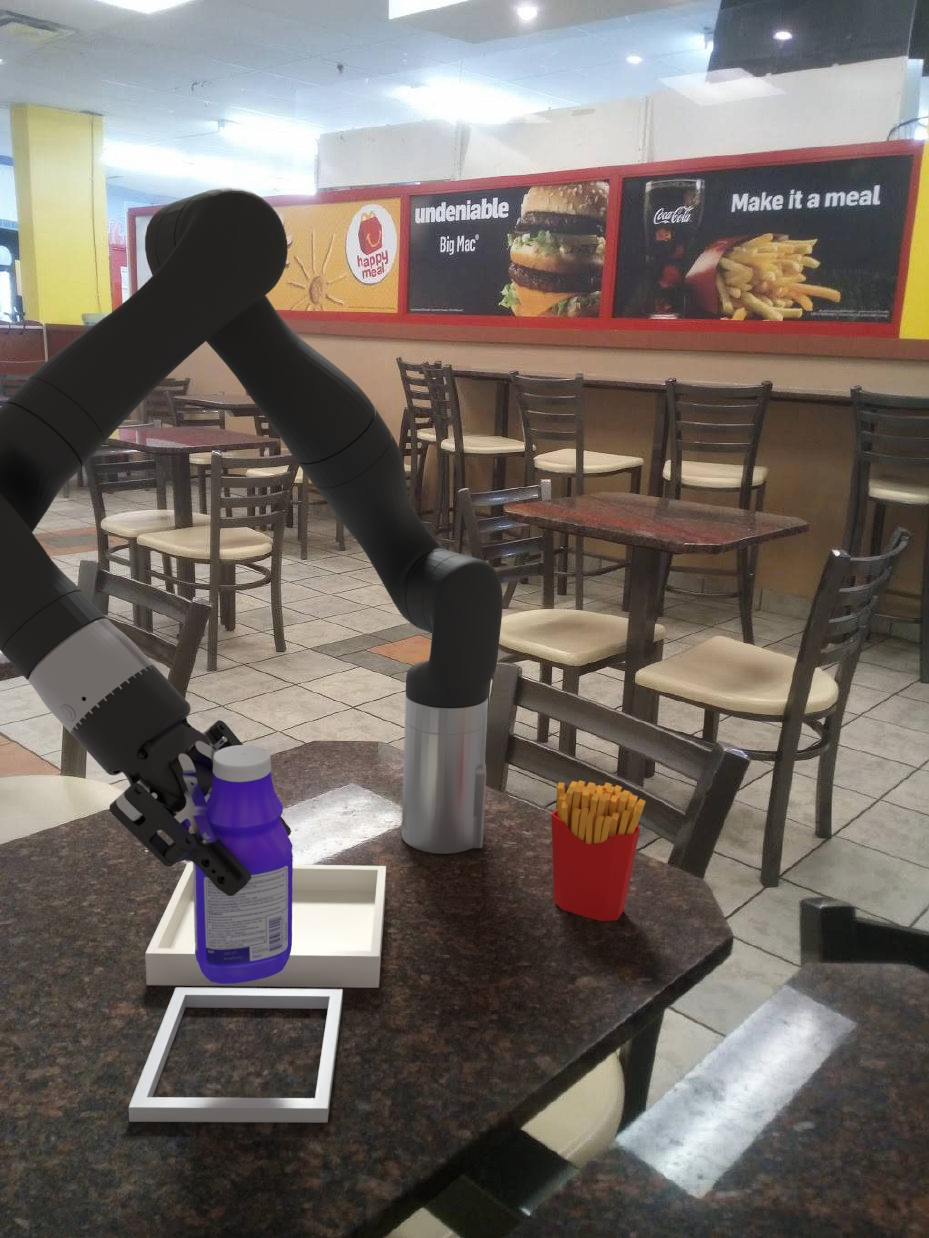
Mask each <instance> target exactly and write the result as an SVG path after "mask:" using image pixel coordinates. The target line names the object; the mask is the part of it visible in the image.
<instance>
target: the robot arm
mask: <svg viewBox="0 0 929 1238" xmlns="http://www.w3.org/2000/svg"><path fill="white" fill-rule="evenodd" d="M286 233H287V232H286V229H285V227H284V224H283V223H282V219H281V217H280V216H279V215H278V212H277V211H276V210H275V209H274V208H273V207H272V205H271V204H270V203H269V202H268V201H267V200H266V199H264V198H263V197H262V196H260V195H258V194H256V193H255V192H253V191H250V190H247V189H244V188H238V187H237V188H236V187H221V188H216V189H215V188H214V189H209V190H206V191H204V192H199V193H197V194H194V195H191V196H188V197H185V198H182V199H179V200H176V201H174V202H171V203H169V204H167V205H164V206H163V207H162V208H160V209H158V211H156V212H155V213H154V214H153V215H152V217H151V219H150V220H149V222H148V225H147V227H146V230H145V236H144V249H145V250H144V251H145V257H146V261H147V264H148V267H149V271H150V273H151V274H152V276H150V278H149V279H148V280H147V281H146V282H145V283H144V284H143V285H142V286H141V287H139V289H138V290H136V291H135V292H134V293H133V294H132V295H131V296H129V298H127V300H125V301H124V302H123V303H122V304H120V305H119V306H118V307H116V308H115V309H114V310H112V311H111V312H110V313H109V314H107V315H106V316H105V317H103V318H102V319H101V320H99V321H98V322H97V323H95V324H94V325H92V326H90V327H89V328H88V329H87V330H86V331H84V332H83V333H81V334H80V335H79V336H77V337H76V338H75V339H73V340H71V341H70V342H69V343H67V344H66V345H65V346H64V347H62V348H61V349H60V350H58V351H57V352H56V353H55V354H54V355H53V356H51V357H50V358H49V359H48V360H46V361H45V362H44V363H43V364H42V365H41V366H40V367H39V368H37V370H36V371H35V372H34V373H33V374H31V376H30V377H29V378H28V379H27V380H25V382H24V383H23V384H22V385H21V386H20V387H18V389H17V390H16V391H15V392H14V393H12V395H11V396H10V397H9V398H8V399H7V400H6V401H5V403H4V404H2V405H1V406H0V653H2V654H3V656H4V657H5V658H6V659H7V660H8V662H10V663H11V664H12V665H13V667H14V668H15V669H16V670H17V671H18V672H19V673H20V674H21V675H22V676H23V678H25V679H26V680H27V681H28V683H29V684H30V685H31V687H32V688H33V689H34V691H35V692H36V693H37V695H38V697H39V698H40V699H41V701H42V702H43V704H44V706H46V708H47V709H48V710H49V711H50V712H51V714H53V716H54V717H55V718H56V719H57V720H58V721H59V722H60V724H61V725H63V727H64V728H65V729H66V730H67V731H68V732H69V733H70V734H71V735H72V737H74V738H75V740H76V742H77V741H78V743H79V744H80V745H81V746H82V747H83V748H84V749H85V750H86V752H87V753H88V754H89V755H90V756H91V757H92V758H93V760H95V762H96V763H97V764H98V765H99V766H100V767H101V768H102V769H103V770H104V771H105V772H106V774H108V775H110V776H118V775H120V774H124V776H125V777H126V779H127V781H128V783H129V787H127V788H126V789H125V790H124V791H123V792H122V793H121V794H120V795H119V796H117V797H116V799H114V801H112V802H111V803H110V804H109V807H108V808H109V812H110V813H111V814H112V815H113V817H115V818H116V819H117V820H118V821H119V822H120V823H121V824H122V826H124V827H125V828H126V829H127V830H128V831H129V832H130V833H131V835H133V836H134V837H135V838H136V839H137V840H138V841H139V842H140V843H141V844H142V845H143V846H144V847H145V848H146V849H147V850H148V851H149V852H150V853H151V854H153V856H155V858H156V859H157V860H159V861H160V862H161V864H163V865H164V866H165V867H169V868H171V867H173V866H174V865H176V864H177V863H179V862H183V861H185V862H191V863H193V862H194V863H195V864H196V865H197V866H198V867H199V868H200V870H201V871H202V872H203V873H204V874H205V875H206V876H207V877H208V878H209V879H210V880H211V882H213V884H214V885H215V886H216V887H217V888H218V889H219V890H221V891H222V892H224V893H225V894H226V895H228V896H233V895H235V894H236V893H237V892H238V891H240V890H241V889H242V888H243V887H244V886H246V884H247V883H248V882H249V881H250V880H251V874H250V872H249V871H248V870H247V869H246V868H245V867H244V866H243V865H242V863H241V862H240V861H239V860H238V859H237V858H236V857H235V856H234V855H233V854H232V853H231V851H230V850H229V849H228V848H227V847H226V846H225V845H224V844H223V843H222V842H221V840H220V839H219V838H218V839H217V840H216V841H215V842H213V841H214V839H215V837H214V834H213V832H212V829H211V827H210V824H209V822H208V820H207V817H206V812H207V808H208V806H207V803H206V802H207V800H208V798H209V796H210V794H211V789H212V783H213V756H214V754H215V753H216V752H217V751H219V750H221V749H223V748H226V747H230V746H236V745H244V744H243V743H242V741H240V739H239V738H238V737H237V735H236V734H234V732H233V731H232V729H231V728H230V727H229V726H228V725H227V724H226V722H224V720H220V719H218V720H217V721H216V722H214V723H213V724H212V725H211V726H209V727H208V728H207V729H206V730H205V731H203V732H201V731H200V730H198V729H196V728H195V727H194V726H192V725H191V724H190V723H189V722H188V718H187V717H188V716H189V715H190V713H191V711H192V708H191V705H190V702H188V701H187V699H186V698H185V697H183V695H182V694H181V693H180V692H179V691H178V690H177V689H176V688H175V687H174V685H173V684H172V683H171V682H170V681H169V680H168V679H167V678H166V677H165V675H164V674H163V673H162V672H161V671H160V670H159V669H158V668H157V666H156V665H155V664H154V663H153V662H152V661H151V660H150V659H149V658H148V657H147V655H146V654H144V652H143V651H142V650H141V649H140V648H139V646H137V645H136V644H135V642H133V640H132V639H131V638H130V637H128V636H127V635H126V634H125V633H124V632H123V631H122V630H120V629H119V628H118V627H117V626H115V625H114V624H113V623H112V622H111V621H110V620H109V619H108V618H107V617H106V616H105V615H104V614H103V613H102V611H101V610H100V609H99V608H98V607H97V606H96V605H95V604H94V603H93V601H91V599H90V598H89V597H88V596H87V595H86V594H85V593H84V591H83V590H82V589H81V588H79V586H78V585H77V584H76V583H74V581H73V580H71V579H70V578H69V576H68V575H66V574H65V572H63V571H62V570H61V569H60V568H59V567H58V566H57V564H56V563H55V562H54V561H53V560H52V558H51V557H50V555H49V554H48V553H47V551H46V549H45V548H44V547H43V545H42V544H41V543H40V541H39V540H38V539H37V537H36V536H35V535H34V530H35V529H36V528H37V526H38V525H39V523H40V522H41V521H42V519H43V517H44V516H45V514H46V513H47V512H48V510H49V508H50V507H51V505H52V504H53V502H54V501H55V498H56V497H57V495H58V494H59V492H61V490H62V488H63V487H64V486H65V485H66V484H67V483H68V482H69V481H70V480H71V479H72V478H73V477H74V476H76V474H77V473H78V472H79V471H80V470H81V469H82V468H83V467H84V466H85V465H86V464H87V463H88V462H89V460H90V459H91V458H92V457H93V456H94V455H95V454H96V453H97V451H99V449H100V448H101V447H102V446H103V445H104V444H105V443H106V442H107V441H108V439H109V438H110V437H111V436H112V435H113V434H114V433H115V432H116V430H117V429H118V428H119V427H120V426H121V425H122V424H123V422H125V420H126V419H127V418H128V417H129V416H130V415H131V414H132V413H133V412H134V411H135V410H136V409H137V408H138V406H139V405H140V404H141V403H142V402H143V401H144V400H145V399H146V398H148V396H149V395H150V394H151V393H152V392H153V391H154V390H155V389H156V388H157V387H159V385H160V384H161V383H162V382H163V381H165V379H166V378H167V377H168V376H169V375H171V373H172V372H173V371H175V369H176V368H178V366H179V365H181V364H183V362H184V361H185V360H186V359H188V357H189V356H190V355H192V354H193V353H194V352H195V351H197V349H198V348H200V347H201V346H202V345H203V344H204V343H207V345H209V346H210V348H211V349H212V350H213V351H214V352H215V353H216V354H217V355H218V357H219V358H220V359H221V360H222V361H223V362H224V363H225V365H226V366H227V367H228V369H229V370H230V371H231V372H232V374H233V375H234V376H235V378H237V379H236V380H238V381H239V382H240V383H239V384H241V386H242V387H243V389H244V390H245V391H246V393H247V394H248V396H249V398H250V399H251V400H252V401H253V403H254V404H255V405H256V407H257V408H258V410H259V411H260V412H261V414H262V415H263V416H264V418H265V419H266V420H267V422H268V423H269V425H270V426H271V427H272V429H273V430H274V431H275V433H276V434H277V435H278V436H279V438H280V439H281V441H282V442H283V444H284V446H285V447H286V448H287V450H288V451H289V453H290V454H291V456H292V457H293V459H294V460H295V462H296V463H297V464H298V465H299V467H300V468H301V470H302V472H303V473H304V474H305V475H306V477H307V478H308V480H310V482H311V484H312V485H313V487H314V488H315V489H316V490H317V491H318V492H319V494H320V495H321V497H323V499H324V500H325V501H326V502H327V504H328V505H329V507H330V508H331V509H332V511H333V512H334V513H335V515H336V516H337V518H338V519H339V520H340V522H342V524H343V526H344V527H345V528H346V530H348V532H349V533H350V535H351V536H352V537H353V538H354V539H355V540H356V542H357V543H358V544H359V546H360V547H361V548H362V550H363V552H364V553H365V555H366V557H367V558H368V560H369V561H370V563H371V564H372V567H373V569H375V571H376V574H377V575H378V577H379V579H380V581H381V583H382V584H383V586H384V588H385V590H386V592H387V593H388V595H389V597H390V599H391V601H392V602H393V604H394V605H395V607H396V608H397V610H398V612H399V613H400V614H401V616H402V617H403V618H404V619H405V620H406V621H407V622H408V623H410V624H411V625H413V626H414V627H416V628H418V629H420V630H422V631H424V632H425V631H426V632H428V633H431V643H430V652H429V659H428V660H425V661H424V660H423V661H421V662H418V663H415V664H414V665H412V666H410V668H409V669H408V671H407V672H406V677H405V678H406V679H405V703H404V704H405V706H404V711H405V712H404V737H403V738H404V739H403V740H404V741H403V768H402V769H403V770H402V771H403V774H402V775H403V777H402V809H401V810H402V811H401V838H402V840H403V841H404V842H405V843H406V844H407V845H408V846H410V847H412V848H414V849H416V850H418V851H421V852H425V853H430V854H431V853H432V854H438V855H439V854H442V855H444V854H445V855H449V854H456V853H461V852H465V851H468V850H472V849H482V848H483V847H484V824H485V805H486V804H485V803H486V783H487V767H486V762H485V761H486V748H487V747H486V745H487V729H488V728H487V727H488V725H487V723H488V721H487V720H488V706H489V705H488V703H489V688H490V684H491V682H492V679H493V677H494V674H495V672H496V669H497V664H498V657H499V647H500V637H501V628H502V620H503V618H502V617H503V607H504V605H503V601H504V599H503V598H504V597H503V587H502V582H501V579H500V577H499V574H498V572H497V570H496V569H495V568H494V567H493V566H492V565H491V564H490V563H488V562H486V561H485V560H483V559H480V558H477V557H472V556H469V555H468V554H467V555H466V554H463V553H460V552H455V551H452V550H451V551H450V550H448V549H447V548H445V547H443V546H442V544H440V543H439V542H438V541H437V539H436V538H435V537H434V536H433V534H431V532H430V531H429V530H428V528H427V527H426V526H425V524H424V523H423V521H422V520H421V518H420V517H419V515H418V514H417V512H416V511H415V509H414V507H413V505H412V503H411V500H410V497H409V491H408V486H407V485H408V484H407V475H406V470H405V463H404V462H405V461H404V459H403V455H402V452H401V450H400V447H399V445H398V443H397V441H396V439H395V437H394V435H393V434H392V432H391V430H390V429H389V428H388V427H389V426H387V424H386V423H385V420H384V419H383V418H382V416H381V415H380V413H379V411H378V410H377V409H376V407H375V405H374V404H373V403H372V401H371V399H370V398H369V397H368V396H367V394H366V393H365V392H364V390H362V388H361V387H360V386H359V385H358V384H357V383H356V382H355V381H353V379H352V378H350V376H348V375H347V374H346V373H345V372H344V371H343V370H341V369H340V368H339V367H338V366H337V365H335V364H334V363H333V362H332V361H330V360H329V359H327V358H326V357H325V356H324V355H323V354H321V353H319V352H318V351H317V350H316V349H315V348H313V347H312V346H311V345H309V344H308V342H306V341H305V340H303V338H301V337H300V336H299V335H298V334H297V333H296V332H295V331H294V329H293V330H292V328H291V327H290V326H289V325H288V324H287V323H286V322H285V320H284V319H283V318H282V317H281V315H280V314H279V313H278V311H277V310H276V309H275V307H274V305H273V304H272V303H271V301H270V299H269V298H268V296H267V294H269V293H270V292H271V291H272V290H273V289H274V288H275V287H276V286H277V284H278V283H279V281H280V280H281V278H282V276H283V274H284V270H285V267H286V264H287V260H288V239H287V235H286ZM280 819H281V822H282V824H283V826H284V828H285V830H286V832H287V835H288V837H289V836H291V833H292V829H291V827H290V826H289V825H288V824H287V823H286V821H285V819H284V818H283V817H282V816H281V817H280ZM190 827H191V828H192V830H193V832H194V833H191V832H190V831H189V830H190ZM159 831H162V832H163V833H165V835H167V836H168V837H169V838H170V839H171V840H172V841H173V842H172V843H170V844H169V843H167V841H165V839H163V837H162V836H161V835H160V834H159V833H158V832H159Z"/></svg>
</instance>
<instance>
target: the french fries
mask: <svg viewBox="0 0 929 1238" xmlns="http://www.w3.org/2000/svg"><path fill="white" fill-rule="evenodd" d="M557 783H558V784H557V785H556V802H557V803H556V805H557V807H556V809H555V810H554V811H553V812H552V813H551V814H550V816H551V817H550V819H551V841H552V842H551V844H552V845H551V846H552V850H551V851H552V875H553V876H552V877H553V903H555V904H556V905H557V907H559V908H560V909H561V910H563V911H566V912H568V913H572V914H575V915H578V916H582V917H585V918H588V919H593V920H597V921H600V922H609V921H618V919H619V918H620V917H621V915H622V914H623V912H624V910H625V906H626V900H627V895H628V891H629V886H630V882H631V881H630V880H631V876H632V870H633V866H634V861H635V857H636V851H637V846H638V843H639V842H638V841H639V837H640V832H641V826H639V822H640V819H641V817H642V814H643V810H644V808H645V805H646V804H647V803H646V800H645V799H642V798H639V796H638V795H634V794H633V793H632V792H631V791H630V790H625V789H624V790H623V791H622V789H623V786H620V785H618V784H616V785H615V786H613V783H609V782H605V784H604V785H599V784H598V785H596V783H594V782H591V781H589V782H588V783H587V785H586V781H583V780H581V779H580V780H578V781H573V780H572V781H571V783H570V784H569V786H568V788H567V791H566V789H565V788H566V787H565V786H566V784H565V782H557ZM638 798H639V800H638Z"/></svg>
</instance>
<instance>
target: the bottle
mask: <svg viewBox="0 0 929 1238" xmlns="http://www.w3.org/2000/svg"><path fill="white" fill-rule="evenodd" d="M271 759H272V757H271V753H270V751H269V750H268V749H266V748H265V747H263V746H262V747H261V746H259V745H252V744H243V745H236V746H230V747H226V748H223V749H221V750H219V751H217V752H216V753H215V754H214V756H213V783H212V789H211V794H210V796H209V798H208V800H206V803H207V806H208V808H207V812H206V817H207V820H208V822H209V824H210V827H211V829H212V832H213V834H214V837H215V839H214V841H213V842H215V841H216V840H217V839H218V838H219V839H220V840H221V842H222V843H223V844H224V845H225V846H226V847H227V848H228V849H229V850H230V851H231V853H232V854H233V855H234V856H235V857H236V858H237V859H238V860H239V861H240V862H241V863H242V865H243V866H244V867H245V868H246V869H247V870H248V871H249V872H250V874H251V880H250V881H249V882H248V883H247V884H246V886H244V887H243V888H242V889H241V890H240V891H238V892H237V893H236V894H235V895H233V896H228V895H226V894H225V893H224V892H222V891H221V890H219V889H218V888H217V887H216V886H215V885H214V884H213V882H211V880H210V879H209V878H208V877H207V876H206V875H205V874H204V873H203V872H202V871H201V870H200V868H199V867H198V866H197V865H196V864H195V863H194V862H192V863H193V888H194V928H195V955H196V960H197V961H198V963H199V966H200V969H201V971H202V973H203V974H204V976H205V977H206V978H207V979H209V980H210V981H211V982H214V983H220V984H234V983H242V982H248V981H254V980H258V979H262V978H266V977H269V976H272V975H275V974H277V973H279V972H280V971H282V970H283V968H284V967H285V965H286V963H287V961H288V959H289V956H290V953H291V947H292V875H293V865H292V864H294V863H293V862H294V860H293V859H294V857H293V855H294V854H293V851H292V849H293V843H292V841H291V839H290V837H289V836H288V835H287V832H286V830H285V828H284V826H283V824H282V822H281V819H280V817H282V814H283V812H284V811H283V808H284V806H283V803H282V802H281V800H280V798H279V797H278V795H277V794H276V791H275V787H274V783H273V779H272V778H273V777H272V762H271V761H272V760H271Z"/></svg>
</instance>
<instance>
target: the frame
mask: <svg viewBox="0 0 929 1238" xmlns="http://www.w3.org/2000/svg"><path fill="white" fill-rule="evenodd" d="M343 992H344V990H343V988H339V989H338V988H278V987H277V988H273V987H272V988H270V987H267V988H264V987H263V988H262V987H259V988H258V987H188V986H187V987H183V986H182V987H181V986H179V987H175V988H174V991H173V994H172V997H171V999H170V1001H169V1004H168V1006H167V1009H166V1011H165V1014H164V1017H163V1019H162V1022H161V1023H160V1027H159V1029H158V1032H157V1034H156V1037H155V1039H154V1042H153V1043H152V1047H151V1049H150V1052H149V1055H148V1058H147V1059H146V1063H145V1065H144V1067H143V1069H142V1072H141V1076H140V1077H139V1080H138V1082H137V1085H136V1087H135V1090H134V1092H133V1095H132V1097H131V1101H130V1102H129V1106H128V1122H131V1123H132V1122H135V1123H137V1122H138V1123H140V1122H142V1123H143V1122H144V1123H148V1122H149V1123H151V1122H152V1123H153V1122H154V1123H155V1122H156V1123H158V1122H159V1123H165V1122H166V1123H172V1122H173V1123H176V1122H177V1123H184V1122H185V1123H324V1124H325V1123H328V1121H329V1112H330V1106H331V1105H330V1104H331V1096H332V1090H333V1089H332V1088H333V1080H334V1074H335V1073H334V1072H335V1065H336V1056H337V1049H338V1040H339V1032H340V1026H341V1025H340V1024H341V1017H342V1016H341V1015H342V1008H343V1002H344V1001H343V999H344V997H343V995H344V993H343ZM186 1008H206V1009H207V1008H208V1009H209V1008H211V1009H212V1008H215V1009H216V1008H217V1009H219V1008H220V1009H221V1008H222V1009H224V1008H227V1009H233V1008H234V1009H238V1008H239V1009H303V1010H304V1009H309V1010H310V1009H313V1010H314V1009H321V1010H322V1009H323V1010H324V1009H325V1010H326V1009H327V1015H326V1021H325V1028H324V1034H323V1040H322V1047H321V1052H320V1053H321V1055H320V1060H319V1061H320V1062H319V1068H318V1075H317V1081H316V1082H317V1083H316V1089H315V1095H314V1098H313V1097H311V1098H310V1097H307V1098H306V1097H301V1098H300V1097H298V1098H297V1097H179V1096H178V1097H175V1096H172V1097H167V1096H166V1097H164V1096H163V1097H160V1096H159V1097H158V1096H157V1097H155V1096H154V1095H155V1093H156V1089H157V1087H158V1083H159V1080H160V1078H161V1075H162V1072H163V1070H164V1067H165V1064H166V1062H167V1059H168V1057H169V1054H170V1051H171V1048H172V1046H173V1043H174V1041H175V1037H176V1034H177V1033H178V1029H179V1027H180V1024H181V1021H182V1019H183V1015H184V1012H185V1010H186Z"/></svg>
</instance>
